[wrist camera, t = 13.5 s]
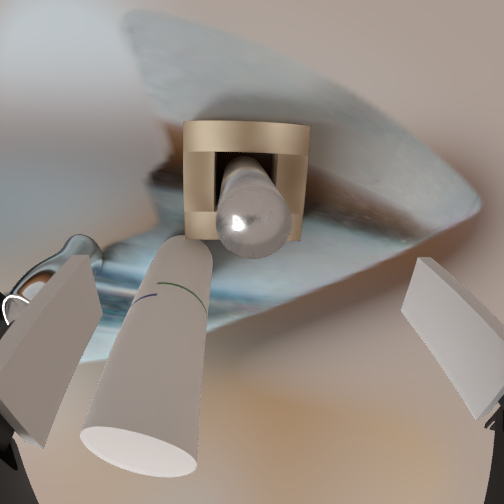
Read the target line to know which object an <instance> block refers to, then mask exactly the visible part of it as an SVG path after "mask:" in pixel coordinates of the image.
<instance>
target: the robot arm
mask: <svg viewBox="0 0 504 504" xmlns="http://www.w3.org/2000/svg"><path fill="white" fill-rule="evenodd" d="M4 298H5V296H4V295H3V294H2V293H1V292H0V504H39V503H38V501H37V499H36V496H35V494H34V492H33V489H32V487H31V485H30V482H29V479H28V477H27V474H26V471H25V468H24V465H23V462H22V459H21V456H20V453H19V450H18V447H17V444H16V442H15V440H14V439H13V438H12V436H13V433H14V431H15V432H16V433H17V434H18V435H19V436H20V437H21V438H22V439H23V440H24V441H25V442H27V443H30V444H32V445H35V446H37V447H40V448H44V446H45V443H46V440H47V438H48V435H49V432H50V430H51V427H52V424H53V421H54V419H55V416H56V414H57V411H58V409H59V406H60V404H61V402H62V399H63V397H64V394H65V392H66V389H67V387H68V385H69V383H70V380H71V378H72V376H73V374H74V372H75V370H76V367H77V365H78V363H79V361H80V359H81V357H82V355H83V353H84V351H85V349H86V347H87V345H88V343H89V341H90V339H91V337H92V335H93V333H94V331H95V329H96V327H97V325H98V323H99V321H100V319H101V317H102V315H103V312H102V309H101V305H100V301H99V297H98V293H97V289H96V285H95V281H94V277H93V272H92V268H91V263H90V258H89V255H72V256H71V257H70V258H69V259H68V260H67V261H66V262H65V263H64V264H63V265H62V266H61V267H60V269H59V270H58V271H57V272H56V273H55V274H54V275H53V276H52V277H51V278H50V279H49V281H48V282H47V283H46V284H45V285H44V286H43V287H42V288H41V290H40V291H39V292H38V293H37V294H36V295H35V297H34V298H33V299H32V300H31V301H30V303H29V304H28V305H27V306H26V307H25V309H24V310H23V311H22V312H21V314H20V315H19V316H18V317H17V319H16V320H14V321H12V322H11V323H10V324H7V322H6V320H5V318H4V315H3V311H2V303H3V300H4ZM401 312H402V313H403V315H404V316H405V317H406V318H407V320H408V321H409V323H410V324H411V325H412V327H413V328H414V329H415V331H416V332H417V333H418V335H419V336H420V338H421V339H422V340H423V342H424V343H425V344H426V346H427V347H428V349H429V350H430V351H431V353H432V354H433V356H434V357H435V359H436V360H437V361H438V363H439V364H440V366H441V367H442V369H443V370H444V372H445V373H446V375H447V376H448V377H449V379H450V380H451V382H452V384H453V385H454V387H455V388H456V390H457V391H458V393H459V394H460V396H461V398H462V399H463V400H464V402H465V404H466V406H467V407H468V409H469V410H470V412H471V414H472V415H473V417H474V419H475V420H477V419H479V418H481V417H483V416H485V415H487V414H488V413H489V412H490V411H491V410H492V409H493V407H494V406H495V405H496V404H497V402H499V404H500V405H501V406H500V407H499V409H498V410H497V411H496V412H495V413H494V415H493V416H492V417H491V418H490V419H489V420H488V421H487V423H486V424H485V427H484V428H487V427H488V426H489V425H490V424H491V423H492V422H493V421H495V423H494V424H493V425H492V426H491V427H490V430H494V431H495V438H494V448H493V456H492V464H491V471H490V477H489V482H488V487H487V492H486V497H485V501H484V504H504V325H503V324H502V323H501V322H500V321H499V320H498V319H497V318H496V317H495V316H494V315H493V314H492V313H491V312H490V311H489V310H488V309H487V308H486V307H485V306H484V305H483V304H482V303H481V302H480V301H479V300H478V299H477V298H476V297H475V296H474V295H473V294H472V293H471V292H470V291H469V290H467V289H466V288H465V287H464V286H463V285H462V284H461V283H460V282H459V281H458V280H456V279H455V278H454V277H453V276H452V275H451V274H450V273H448V272H447V271H446V270H445V269H444V268H443V267H441V266H440V265H439V264H438V263H437V262H436V261H434V260H433V259H432V258H431V257H418V258H417V262H416V265H415V269H414V272H413V275H412V279H411V282H410V285H409V288H408V291H407V294H406V297H405V300H404V303H403V306H402V309H401Z"/></svg>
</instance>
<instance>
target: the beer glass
mask: <svg viewBox="0 0 504 504" xmlns="http://www.w3.org/2000/svg"><path fill="white" fill-rule="evenodd" d="M72 255H89V258H90V263H91V268H92V272H93V276H94V275H96V274H97V273H98V272H99V271H100V269H101V267H102V263H103V256H102V252H101V250H100V248H99V246H98V245H97V243H96V242H95V241H94V240H93V239H91V238H90V237H88V236H86V235H82V234H78V235H74V236H72V237H70V238H69V239H68V240H67V242H66V243H65V245H64V246H63V248H62V249H61V250H60V251H59V252H58V253H57V254H55V255H53V256H51V257H49V258H48V259H46V260H44V261H42V262H40V263H39V264H37V265H36V266H34V267H33V268H31V269H30V270H29V271H28V272H27V273H26V274H25V275H24V276H23V277H22V278H21V279H20V280H19V281H18V282H17V284H16V285H15V286H14V287H13V289H12V290H11V291H10V293H9V294H8V295H7V296H6V297H5V298H4V300H3V303H2V311H3V315H4V318H5V320H6V322H7V324H10V323H11V322H12V321H14V320H16V319H17V317H18V316H19V315H20V314H21V312H22V311H23V310H24V309H25V307H26V306H27V305H28V304H29V303H30V301H31V300H32V299H33V298H34V297H35V295H36V294H37V293H38V292H39V291H40V290H41V288H42V287H43V286H44V285H45V284H46V283H47V282H48V281H49V279H50V278H51V277H52V276H53V275H54V274H55V273H56V272H57V271H58V270H59V269H60V267H61V266H62V265H63V264H64V263H65V262H66V261H67V260H68V259H69V258H70V257H71V256H72Z"/></svg>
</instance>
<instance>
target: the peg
mask: <svg viewBox="0 0 504 504" xmlns="http://www.w3.org/2000/svg"><path fill="white" fill-rule="evenodd" d="M291 227H292V216H291V212H290V209H289V207H288V205H287V203H286V202H285V200H284V199H283V197H282V196H281V194H280V193H279V191H278V190H277V188H276V187H275V185H274V184H273V182H272V181H271V179H270V178H269V176H268V175H267V173H266V172H265V170H264V169H263V168H262V166H261V165H260V163H259V162H258V161H257V160H255V159H254V158H252V157H248V156H239V157H236V158H234V159H232V160H231V161H230V162H229V163H228V164H227V166H226V167H225V170H224V174H223V180H222V186H221V192H220V198H219V204H218V210H217V216H216V230H217V234H218V237H219V239H220V241H221V242H222V244H223V245H224V246H225V247H226V248H227V249H228V250H229V251H230V252H232V253H234V254H236V255H238V256H240V257H244V258H251V259H254V258H262V257H266V256H268V255H271V254H272V253H274V252H276V251H277V250H278V249H280V248H281V247H282V246H283V244H284V243H285V242H286V240H287V239H288V237H289V235H290V232H291Z"/></svg>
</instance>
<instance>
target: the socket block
mask: <svg viewBox="0 0 504 504" xmlns="http://www.w3.org/2000/svg"><path fill="white" fill-rule="evenodd" d="M310 131H311V126H307V125H297V124H286V123H272V122H254V121H184V123H183V189H184V222H185V239H202V240H220V239H219V237H218V234H217V230H216V216H217V210H218V204H219V201H216V163H217V152H256V153H272V167H271V181H272V182H273V184H274V185H275V187H276V188H277V190H278V191H279V193H280V194H281V196H282V197H283V199H284V200H285V202H286V203H287V205H288V207H289V209H290V212H291V216H292V227H291V232H290V235H289V237H288V239H287V240H286V241H300V237H301V229H302V220H303V210H304V201H305V190H306V180H307V169H308V157H309V144H310Z"/></svg>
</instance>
